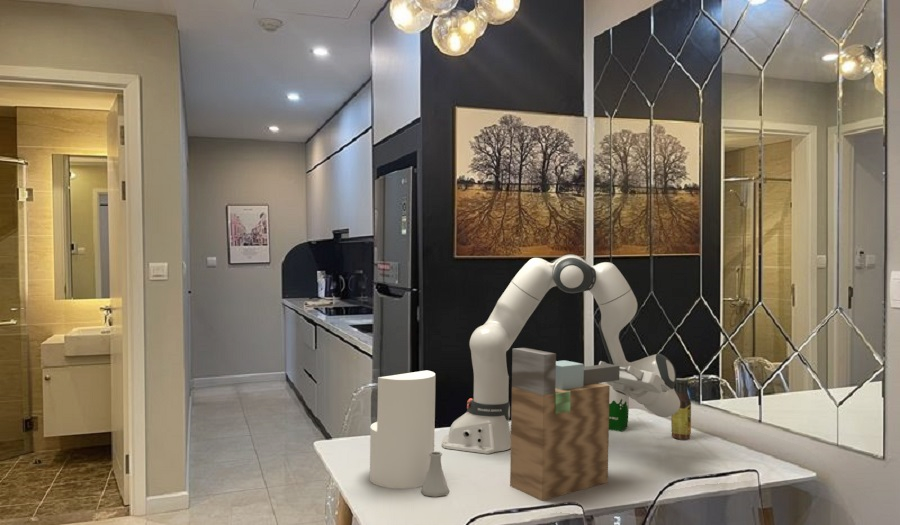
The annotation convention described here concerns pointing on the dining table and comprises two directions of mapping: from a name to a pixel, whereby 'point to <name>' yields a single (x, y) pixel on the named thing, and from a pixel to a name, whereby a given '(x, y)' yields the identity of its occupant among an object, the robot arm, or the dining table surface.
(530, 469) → the wood grain block
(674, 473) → the dining table surface
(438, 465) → the flask
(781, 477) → the dining table surface
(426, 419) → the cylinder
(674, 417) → the sauce bottle
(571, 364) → the mallet
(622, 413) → the milk carton
